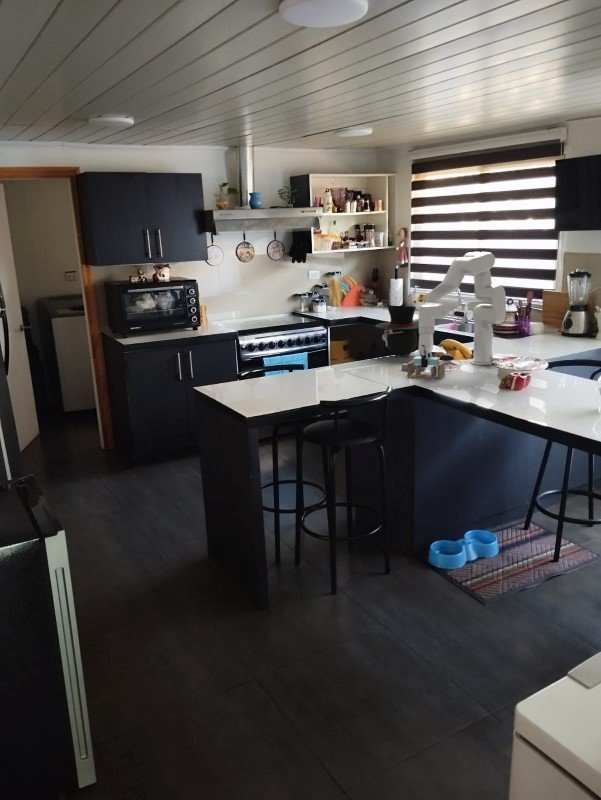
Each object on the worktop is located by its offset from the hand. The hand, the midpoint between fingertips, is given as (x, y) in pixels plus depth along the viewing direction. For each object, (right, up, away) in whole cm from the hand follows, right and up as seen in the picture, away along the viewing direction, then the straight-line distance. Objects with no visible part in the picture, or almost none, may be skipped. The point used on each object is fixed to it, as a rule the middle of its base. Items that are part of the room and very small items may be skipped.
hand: (426, 365), depth 312 cm
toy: (-4, +9, +53) cm, 54 cm away
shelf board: (0, +1, 0) cm, 1 cm away
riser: (-4, -2, +15) cm, 16 cm away
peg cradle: (0, -5, +1) cm, 5 cm away
